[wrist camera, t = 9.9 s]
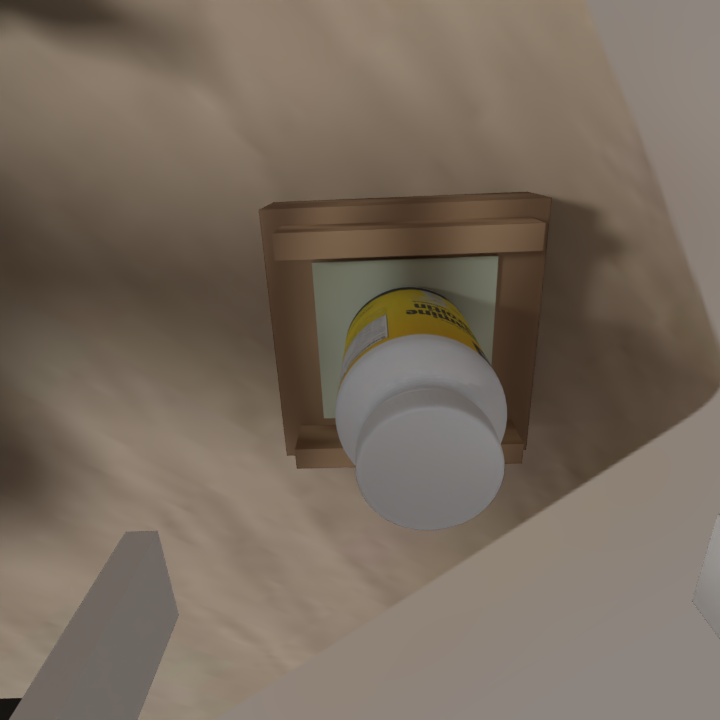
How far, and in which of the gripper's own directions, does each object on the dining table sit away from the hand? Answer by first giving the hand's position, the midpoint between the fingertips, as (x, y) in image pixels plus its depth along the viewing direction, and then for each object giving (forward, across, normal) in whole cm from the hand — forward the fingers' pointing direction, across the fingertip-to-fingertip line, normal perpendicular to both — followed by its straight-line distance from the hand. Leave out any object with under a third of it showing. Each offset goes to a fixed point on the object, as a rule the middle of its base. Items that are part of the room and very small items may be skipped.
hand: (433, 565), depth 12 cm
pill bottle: (+16, +1, 0) cm, 16 cm away
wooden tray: (+20, +1, 0) cm, 20 cm away
